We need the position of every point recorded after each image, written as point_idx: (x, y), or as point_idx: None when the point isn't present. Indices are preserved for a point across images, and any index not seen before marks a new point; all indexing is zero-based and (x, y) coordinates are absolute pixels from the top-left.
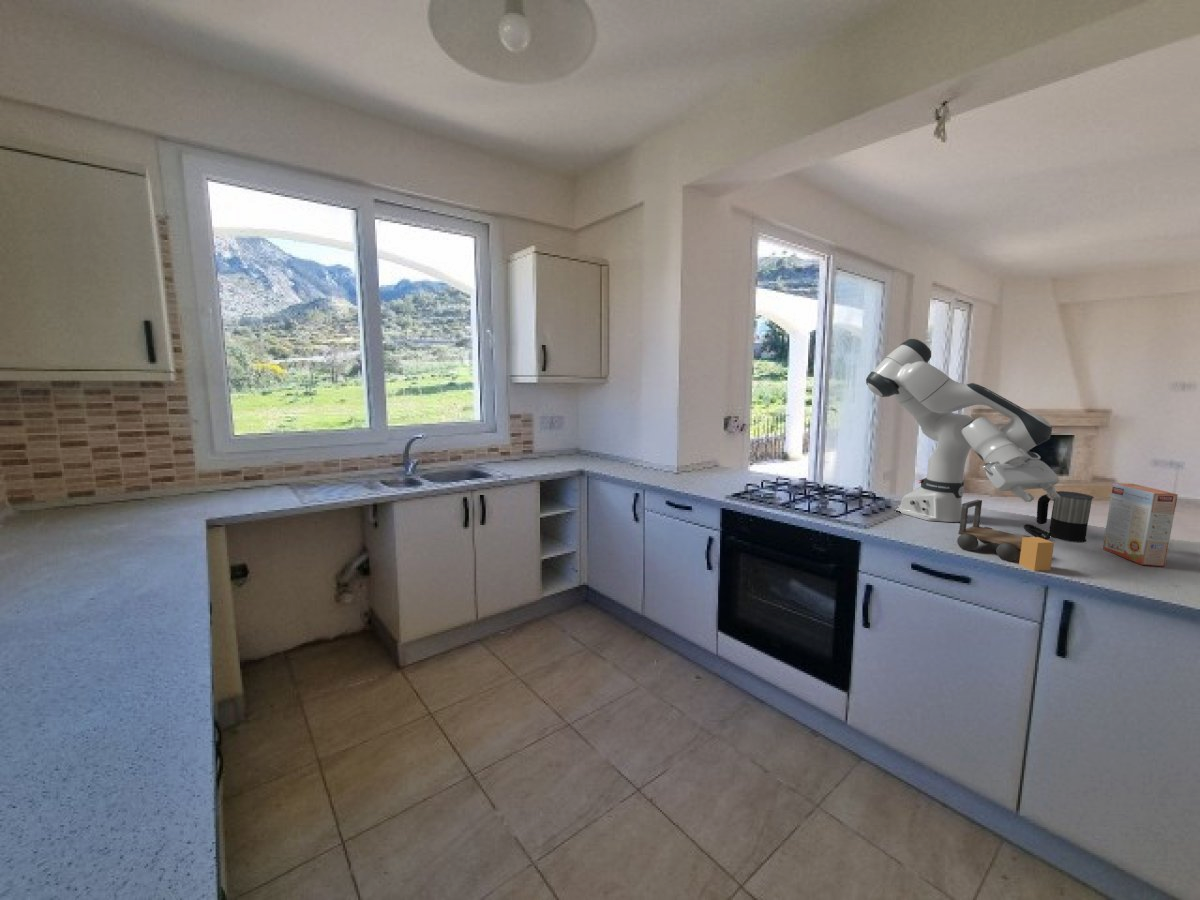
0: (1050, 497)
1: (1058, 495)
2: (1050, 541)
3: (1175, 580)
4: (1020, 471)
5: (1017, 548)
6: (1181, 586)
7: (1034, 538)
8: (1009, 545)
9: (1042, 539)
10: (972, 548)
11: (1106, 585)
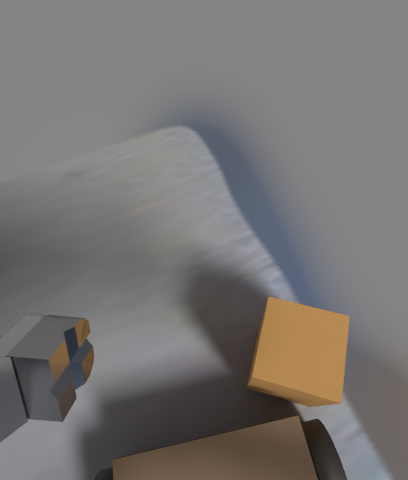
0: (78, 375)
1: (37, 315)
2: (270, 310)
3: (29, 190)
4: None
5: (306, 434)
6: (68, 170)
7: (297, 366)
8: (338, 461)
9: (274, 342)
10: None
11: (228, 214)
